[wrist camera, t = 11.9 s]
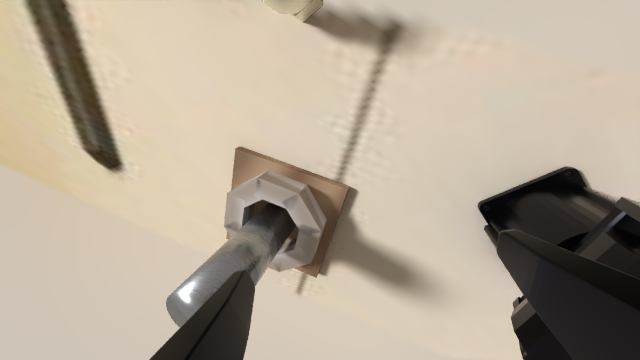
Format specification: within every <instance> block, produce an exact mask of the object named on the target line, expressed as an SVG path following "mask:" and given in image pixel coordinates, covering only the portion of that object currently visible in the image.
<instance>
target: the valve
mask: <svg viewBox="0 0 640 360" xmlns="http://www.w3.org/2000/svg"><path fill="white" fill-rule="evenodd" d="M262 1H263V2H264V3H265V4H266V5H267V6H268V7H270V8H271V9H273V10H274V11H276V12H279V13H282V14H290V15H292V16H294V17H295V18H297V19H298V20H300V21H302V22H304V21H305V20H306V19H307V18H309V17H310V16H311V15H312V14H313V13H315V12H316V11H317V10H318V9H319V8H321V7H322V6H323V0H262Z"/></svg>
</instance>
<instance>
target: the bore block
mask: <svg viewBox="0 0 640 360" xmlns="http://www.w3.org/2000/svg"><path fill="white" fill-rule="evenodd" d="M348 189H349V186H347V185H344V184H341V183H339V182H336V181H333V180H330V179H328V178H325V177H322V176H320V175H317V174H314V173H311V172H309V171H306V170H303V169H300V168H298V167H295V166H292V165H289V164H287V163H284V162H281V161H278V160H276V159H273V158H270V157H267V156H265V155H262V154H259V153H256V152H254V151H251V150H248V149H245V148H243V147H238V148H236V149H235V159H234V169H233V179H232V189H231V191H230V192H229V193H227V201H226V212H225V223H224V227H225V228H226V230H227V239H230V238H231V237H232V236H233V235H234V234H235V233H237V232H238V231H239V230H240V229H241V228H242V227H243V226H244V225H245V224H246V223H247V222H248V221H249V220H250V219H251V218H252V217H254V216H255V215H256V214H257V213H258V212H259V211H260V210H261V209H262V208H263V207H264V206H265V205H266V204H267V203H269V202H270V203H273V204H276V205H278V206H281V207H283V208H286V209H287V211H288V213H289V214H290V216H291V217H292V219H293V221H294V222H295V224H296V226H295V228H294V230H293V231H292V233H291V234H290V236H289V237H288V239H287V240H286V241H285V243H284V244H283V246H282V247H281V249H280V250H279V252H278V253H277V255H276V256H275V258H274V259H273V261H272V262H271V264H270V265H269V268H271V269H274V270H276V271H278V272H281V271H284V270H288V269H292V268H295V269H298V270H300V271H302V272H304V273H307V274H309V275H311V276H314V277H316V278H317V275H318V272H319V270H320V267H321V264H322V261H323V258H324V256H325V253H326V250H327V247H328V245H329V242H330V239H331V236H332V233H333V231H334V228H335V225H336V222H337V220H338V217H339V214H340V211H341V208H342V206H343V203H344V200H345V197H346V195H347V192H348Z"/></svg>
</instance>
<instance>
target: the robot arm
mask: <svg viewBox="0 0 640 360" xmlns="http://www.w3.org/2000/svg"><path fill="white" fill-rule="evenodd" d="M567 172H570V174H569V175H568V176H565V174H566V173H567ZM485 205H488V207H487V208H483V206H485ZM478 209H479V211H480V212H481V214H482V215H483V217H484V219H485V220H486V222H487V224H488V225H486V226H485V227H484V230H485V232H486V233H487V235H488V236H489V238H490V240H491V241H492V243H493V245H494V246H495V248H496V249H497V254H498V256H499V258H500V259H501V261H502V262H503V264H504V265H505V267H506V268H507V270H508V272H509V273H510V275H511V276H512V278H513V279H514V281H515V282H516V284H517V285H518V287H519V289H520V290H521V292H522V293H523V296H522V297H521V298H520V297H518V298H517V299H516V300H515V301H514V302H513V307H514V311H513V313H512V316H511V320H512V324H513V328H514V332H515V334H516V335H517V337H518V339H519V344H520V350H521V354H522V357H523V359H524V360H640V203H639V202H636V201H633V200H630V199H627V198H624V197H622V198H621V199H619V200H618V201H617V202H614V201H612V200H610V199H608V198H606V197H604V196H601V195H599V194H597V193H595V192H593V191H591V190H589V189H587V187H586V185H585V183H584V181H583V179H582V177H581V175H580V173H579V171H578V170H577V169H574V168H572V167H563V168H561V169H558V170H556V171H553V172H551V173H548V174H546V175H544V176H541V177H539V178H536V179H534V180H531V181H529V182H527V183H524V184H522V185H519V186H517V187H514V188H512V189H510V190H507V191H505V192H502V193H500V194H497V195H495V196H493V197H490V198H488V199H485V200H483V201H481V202H479V204H478ZM254 293H255V285H254V282H253V280H252V278H251V276H250V274H249V272H248V270H246V269H244V270H237V271H235V272H234V273H233V274H232V275H231V276H230V277H229V278H228V279H227V280H226V281H225V282H224V283H223V284H222V285H221V286H220V287H219V288H218V289H217V290H216V291H215V292H214V294H213V295H212V296H211V297H210V298H209V299H208V300H207V301H206V302H205V303H204V304H203V305H202V306H201V307H200V308H199V309H198V310H197V311H196V312H195V313H194V314H193V315H192V316H191V317H190V318H189V319H188V320H187V321H186V322H185V323H184V324H183V326H182V327H181V328H180V329H179V330H178V331H177V332H176V333H175V334H174V335H173V336H172V337H171V338H170V339H169V340H168V341H167V342H166V343H165V344H164V345H163V346H162V347H161V348H160V349H159V350H158V351H157V352H156V354H154V355H153V356H152V357H151V358H150V360H243V358H244V353H245V349H246V345H247V340H248V336H249V330H250V323H251V315H252V308H253V301H254Z"/></svg>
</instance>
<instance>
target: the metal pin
mask: <svg viewBox="0 0 640 360" xmlns="http://www.w3.org/2000/svg"><path fill="white" fill-rule="evenodd" d="M295 226H296V224H295V222H294V221H293V219H292V217H291V216H290V214H289V213H288V211H287V209H286V208H283V207H281V206H278V205H276V204H273V203H270V202H269V203H267V204H266V205H265V206H264V207H263V208H262V209H261V210H260V211H259V212H258V213H257V214H256V215H255V216H254V217H252V218H251V219H250V220H249V221H248V222H247V223H246V224H245V225H244V226H243V227H242V228H241V229H240V230H239V231H238V232H237V233H235V234H234V235H233V236H232V237H231V238H230V239H229V240H228V241H227V242H226V243H225V244H224V245H223V246H222V247H221V248H220V249H218V250H217V251H216V252H215V253H214V254H213V255H212V256H211V257H210V258H209V259H208V260H207V261H206V262H205V263H204V264H203V265H201V266H200V267H199V268H198V269H197V270H196V271H195V272H194V273H193V274H192V275H191V276H190V277H189V278H188V279H187V280H185V281H184V282H183V283H182V284H181V285H180V286H179V287H178V288H177V289H176V290H175V291H174V292H173V293H172V294H171V295H170V296H169V297H168V298H167V301H166V306H167V310H168V312H169V314H170V316H171V318H172V319H173V321H174V322H175V323H176V324H177V325H178V326H179V327H180V328H181V327H182V326H183V324H184V323H185V322H186V321H187V320H188V319H189V318H190V317H191V316H192V315H193V314H194V313H195V312H196V311H197V310H198V309H199V308H200V307H201V306H202V305H203V304H204V303H205V302H206V301H207V300H208V299H209V298H210V297H211V296H212V295H213V294H214V292H215V291H216V290H217V289H218V288H219V287H220V286H221V285H222V284H223V283H224V282H225V281H226V280H227V279H228V278H229V277H230V276H231V275H232V274H233V273H234V272H235V271H237V270H244V269H246V270H248V272H249V274H250V276H251V278H252V280H253V282H254V285H255V286H256V284H257V283H258V281H259V280H260V278H261V277H262V275H263V274H264V272H265V271H266V270H267V268H268V267H269V265H270V264H271V262H272V261H273V259H274V258H275V256H276V255H277V253H278V252H279V250H280V249H281V247H282V246H283V244H284V243H285V241H286V240H287V239H288V237H289V236H290V234H291V233H292V231H293V230H294V228H295Z"/></svg>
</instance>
